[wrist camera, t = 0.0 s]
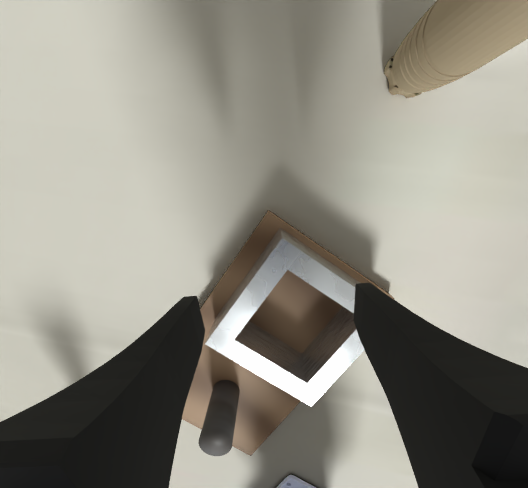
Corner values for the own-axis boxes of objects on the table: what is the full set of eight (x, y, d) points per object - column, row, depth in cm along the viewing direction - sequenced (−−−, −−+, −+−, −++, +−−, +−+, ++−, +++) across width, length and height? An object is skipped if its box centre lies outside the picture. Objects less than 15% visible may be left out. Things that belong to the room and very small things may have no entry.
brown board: (251, 446, 28) (246, 517, 22) (145, 388, 26) (109, 449, 20) (389, 293, 23) (429, 333, 17) (268, 210, 21) (267, 223, 15)
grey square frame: (305, 373, 24) (311, 406, 21) (214, 318, 23) (204, 344, 19) (376, 293, 22) (396, 315, 18) (280, 227, 20) (282, 238, 17)
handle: (359, 116, 19) (634, -66, 5) (385, 14, 17) (943, -763, 3) (421, 128, 19) (880, -11, 5) (454, 29, 18) (1306, -647, 3)
